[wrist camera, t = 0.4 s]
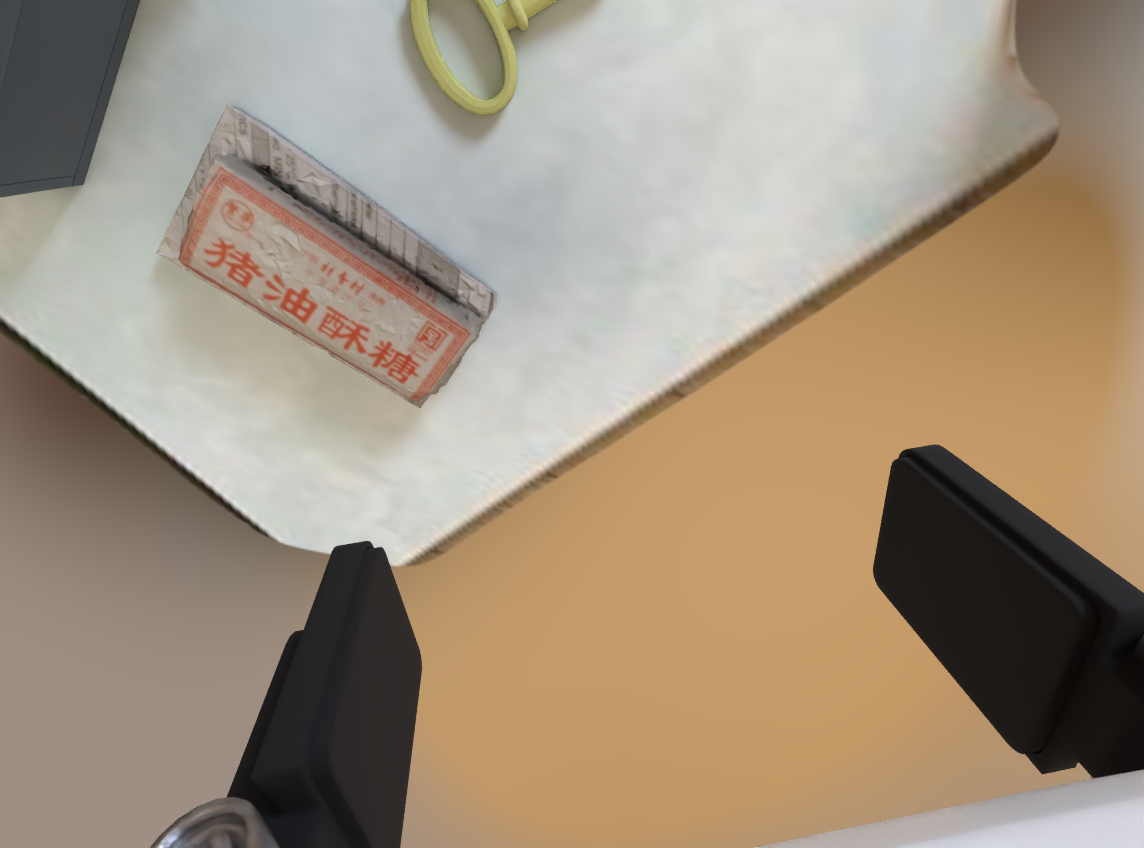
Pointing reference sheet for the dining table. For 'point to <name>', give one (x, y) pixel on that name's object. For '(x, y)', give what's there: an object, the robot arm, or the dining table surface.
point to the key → (512, 13)
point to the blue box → (55, 87)
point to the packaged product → (324, 261)
